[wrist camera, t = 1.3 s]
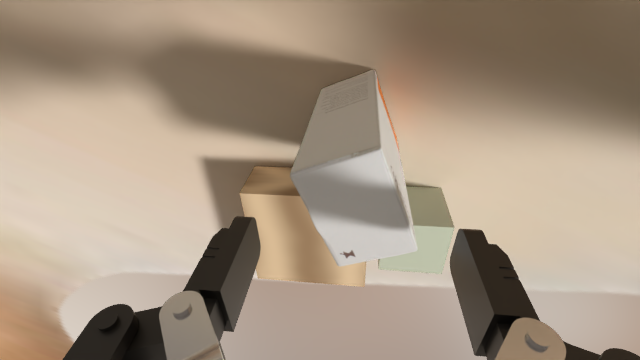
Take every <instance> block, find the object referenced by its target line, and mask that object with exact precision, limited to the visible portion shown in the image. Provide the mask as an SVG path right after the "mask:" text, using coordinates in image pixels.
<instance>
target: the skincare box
mask: <svg viewBox="0 0 640 360" xmlns="http://www.w3.org/2000/svg"><path fill="white" fill-rule="evenodd" d="M290 178H291V180H292V182H293V184H294V185H295V187H296V189H297V191H298V193H299V195H300V197H301V198H302V200H303V202H304V204H305V206H306V208H307V210H308V212H309V214H310V217H311V220H312V222H313V224H314V226H315V228H316V230H317V231H318V233H319V234H320V235H321V236H322V238H323V240H324V242H325V244H326V245H327V247H328V249H329V251H330V253H331V254H332V256H333V258H334V260H335V262H336V264H337V265H338V266H340V267H341V266H346V265H351V264H356V263H361V262H366V261H371V260H377V259H382V258H387V257H393V256H398V255H403V254H407V253H412V252H415V251H417V249H418V248H417V243H416V237H415V232H414V226H413V221H412V216H411V210H410V205H409V200H408V194H407V189H406V183H405V177H404V172H403V167H402V162H401V156H400V151H399V145H398V140H397V137H396V134H395V131H394V128H393V125H392V123H391V120H390V117H389V113H388V110H387V107H386V104H385V101H384V98H383V95H382V91H381V88H380V85H379V81H378V78H377V74H376V71H375V70H370V71H367V72H365V73H362V74H360V75H357V76H354V77H352V78H349V79H346V80H343V81H341V82H338V83H335V84H333V85H330V86H327V87H325V88H322V89H321V91H320V94H319V97H318V100H317V102H316V105H315V108H314V110H313V113H312V116H311V119H310V121H309V124H308V127H307V130H306V133H305V135H304V138H303V141H302V143H301V146H300V149H299V151H298V154H297V157H296V159H295V162H294V164H293V167H292V169H291V172H290Z"/></svg>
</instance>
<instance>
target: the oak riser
mask: <svg viewBox="0 0 640 360" xmlns="http://www.w3.org/2000/svg"><path fill="white" fill-rule="evenodd" d="M291 169H292V168H289V167H262V166H255V167H254V168H253V170H252V172H251V174H250V176H249V177H248V179H247V181H246V183H245V185H244V186H243V188H242V190H241V192H240V197H241V202H242V207H243V211H244V216H245V217H254V218H255V219H256V223H257V228H258V233H259V239H260V245H261V250H260V257H259V260H258V263H257V266H256V271H257V276H258V278H261V279H273V280H286V281H298V282H311V283H323V284H336V285H348V286H362V287H364V286H365V272H366V262H361V263H356V264H351V265H346V266H341V267H340V266H338V265H337V264H336V262H335V260H334V258H333V256H332V254H331V253H330V251H329V249H328V247H327V245H326V244H325V242H324V240H323V238H322V236H321V235H320V234H319V233H318V231H317V230H316V228H315V226H314V224H313V222H312V220H311V217H310V214H309V212H308V210H307V208H306V206H305V204H304V202H303V200H302V198H301V197H300V195H299V193H298V191H297V189H296V187H295V185H294V184H293V182H292V180H291V178H290V172H291Z"/></svg>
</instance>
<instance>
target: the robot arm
mask: <svg viewBox="0 0 640 360" xmlns="http://www.w3.org/2000/svg"><path fill="white" fill-rule="evenodd" d="M260 250H261V245H260V239H259V233H258V228H257V223H256V219H255V218H254V217H239V216H237V217H235V218H234V220H233V222H232V224H231V226H230V228H229V229H227V228H222V229H221V230H220V231H219V232H218V233H217V234H215V235H214V236H213V237H212V239H211V241H210V243H209V245H208V246H207V249H206V250H205V252H204V254H203V257H202V258H201V259H200V261H199V263H198V265H197V267H196V268H195V270H194V272H193V274H192V276H191V278H190V279H189V281H188V283H187V285H186V287H185V289H184V290H183V292H180V293H178V294H175V295H174V296H172V297H171V298H169V299H168V300H167V301H166V302H165V303H164V305H163V306H162V307H158V308H154V309H149V310H144V311H140V312H135V313H134V312H133V310H132V308H131V307H130V306H128V305H125V304H117V305H113V306H110V307H107V308H105V309H103V310H102V311H100V312H99V313H98V314H96V315H95V316H94V317H93V318H92V319H91V320H90V321H89V323H88V324H87V326H86V327H85V328H84V330H83V331H82V333H81V334H80V336H79V337H78V338H77V340H76V341H75V343H74V344H73V346H72V347H71V348H70V350H69V351H68V353H67V354H66V356H65V357H64V358H63V360H226V359H225V356H224V353H223V350H222V347H221V344H220V339H221V337H222V334H223V331H231V332H234V329H235V326H236V323H237V320H238V317H239V314H240V311H241V309H242V306H243V303H244V300H245V297H246V294H247V292H248V289H249V286H250V283H251V280H252V277H253V275H254V272H255V269H256V266H257V263H258V260H259V257H260ZM450 270H451V274H452V278H453V281H454V285H455V288H456V292H457V295H458V298H459V302H460V306H461V309H462V312H463V316H464V319H465V323H466V327H467V330H468V334H469V337H470V341H471V344H472V348H473V351H474V355H476V356H486V357H487V360H640V357H639V356H638V355H636V354H634V353H631V352H629V351H626V350H623V349H617V348H613V349H608V350H606V351H604V352H603V353H602V354H601V355H598V354H595V353H593V352H590V351H587V350H584V349H581V348H578V347H576V346H573V345H570V344H568V343H566V342H564V341H563V340H562V339H561V337H560V336H559V335H558V334H557V333H556V332H555V331H554V330H553V329H552V328H551V327H549V326H548V325H546V324H545V323H543V322H541V321H540V320H539V318H538V316H537V314H536V312H535V310H534V308H533V306H532V304H531V302H530V300H529V298H528V296H527V294H526V292H525V290H524V288H523V286H522V284H521V282H520V280H519V279H518V275H517V273H516V271H515V270H514V267H513V265H512V263H511V261H510V259H509V257H508V255H507V254H506V253H505V252H503V251H502V250H501V249H500V248H499V247H498V246H497V245H494V244H488V242H487V240H486V237H485V235H484V233H483V231H482V230H474V229H459V230H458V233H457V236H456V240H455V243H454V246H453V250H452V253H451V257H450Z"/></svg>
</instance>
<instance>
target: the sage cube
mask: <svg viewBox="0 0 640 360" xmlns="http://www.w3.org/2000/svg"><path fill="white" fill-rule="evenodd" d="M406 189H407V194H408V200H409V205H410V210H411V216H412V221H413V226H414V232H415V237H416V243H417V248H418V249H417V251H415V252H412V253H407V254H403V255H398V256H393V257H387V258H382V259H378V265H379V269H380V270H394V271H407V272H421V273H435V274H442V271H443V268H444V264H445V260H446V257H447V253H448V249H449V246H450V242H451V239H452V235H453V231H454V225H453V222H452V219H451V216H450V213H449V210H448V207H447V204H446V201H445V198H444V195H443V192H442V189H441V188H432V187H408V186H406Z"/></svg>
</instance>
